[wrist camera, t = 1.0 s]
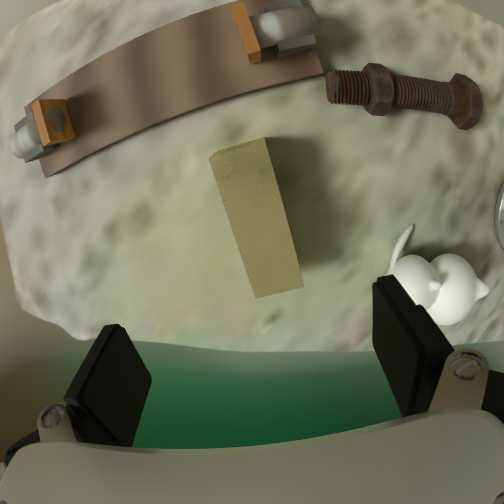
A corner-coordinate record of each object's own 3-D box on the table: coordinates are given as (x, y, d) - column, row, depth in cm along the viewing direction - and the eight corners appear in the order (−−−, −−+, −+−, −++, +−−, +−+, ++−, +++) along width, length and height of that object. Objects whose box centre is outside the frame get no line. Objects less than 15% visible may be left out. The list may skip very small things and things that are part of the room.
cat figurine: (399, 328, 24) (492, 326, 24) (404, 209, 26) (493, 226, 25) (367, 321, 33) (449, 323, 32) (372, 229, 34) (452, 240, 34)
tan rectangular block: (264, 137, 27) (264, 141, 22) (298, 259, 32) (304, 286, 27) (218, 150, 28) (208, 157, 23) (256, 270, 33) (255, 298, 28)
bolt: (320, 83, 26) (450, 96, 25) (327, 125, 26) (462, 136, 25) (326, 45, 21) (473, 68, 19) (336, 91, 20) (490, 111, 19)
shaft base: (291, -6, 21) (298, -33, 15) (320, 75, 24) (335, 64, 19) (32, 106, 25) (-4, 110, 20) (53, 175, 29) (19, 189, 23)
